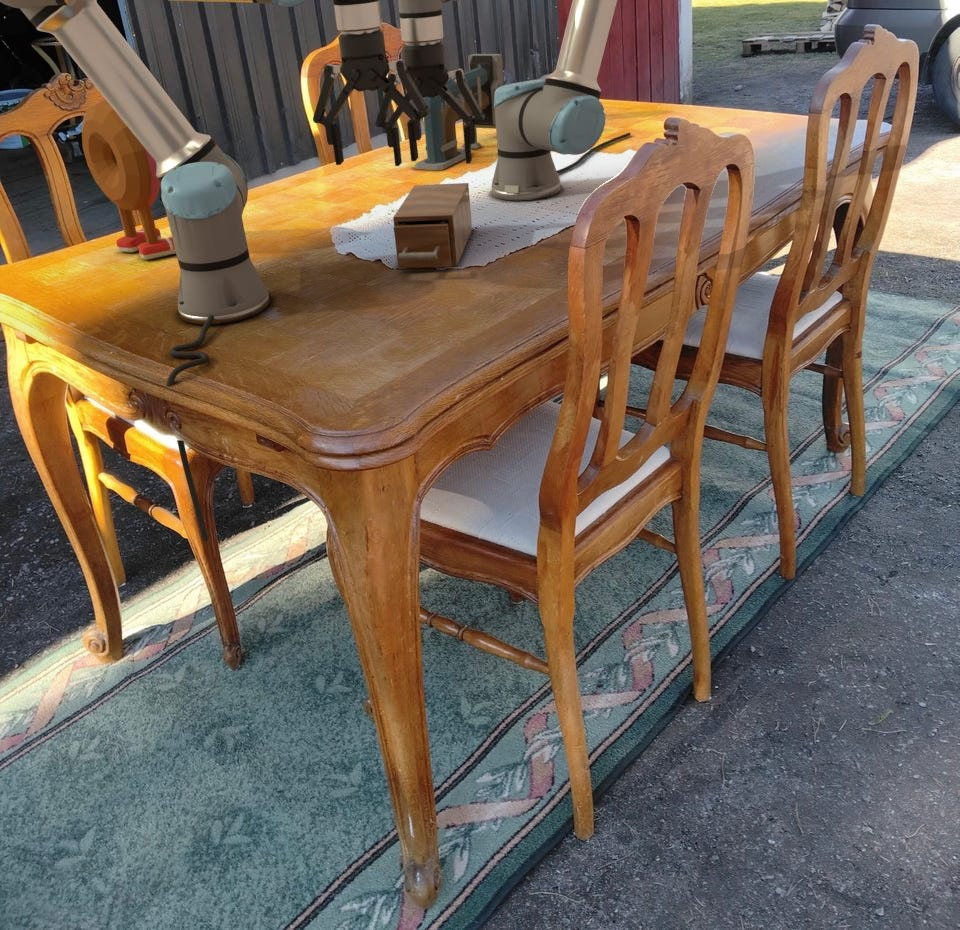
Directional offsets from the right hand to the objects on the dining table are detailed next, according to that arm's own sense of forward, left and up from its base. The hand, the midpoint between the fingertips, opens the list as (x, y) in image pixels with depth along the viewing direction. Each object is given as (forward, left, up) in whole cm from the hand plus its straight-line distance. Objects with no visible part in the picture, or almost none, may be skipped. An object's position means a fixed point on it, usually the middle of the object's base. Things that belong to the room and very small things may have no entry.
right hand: (433, 163), depth 184 cm
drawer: (+11, +4, -14) cm, 18 cm away
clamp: (-65, -31, -15) cm, 73 cm away
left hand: (+16, -2, +4) cm, 16 cm away
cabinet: (+5, +2, -15) cm, 16 cm away
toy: (+23, -56, -15) cm, 62 cm away
